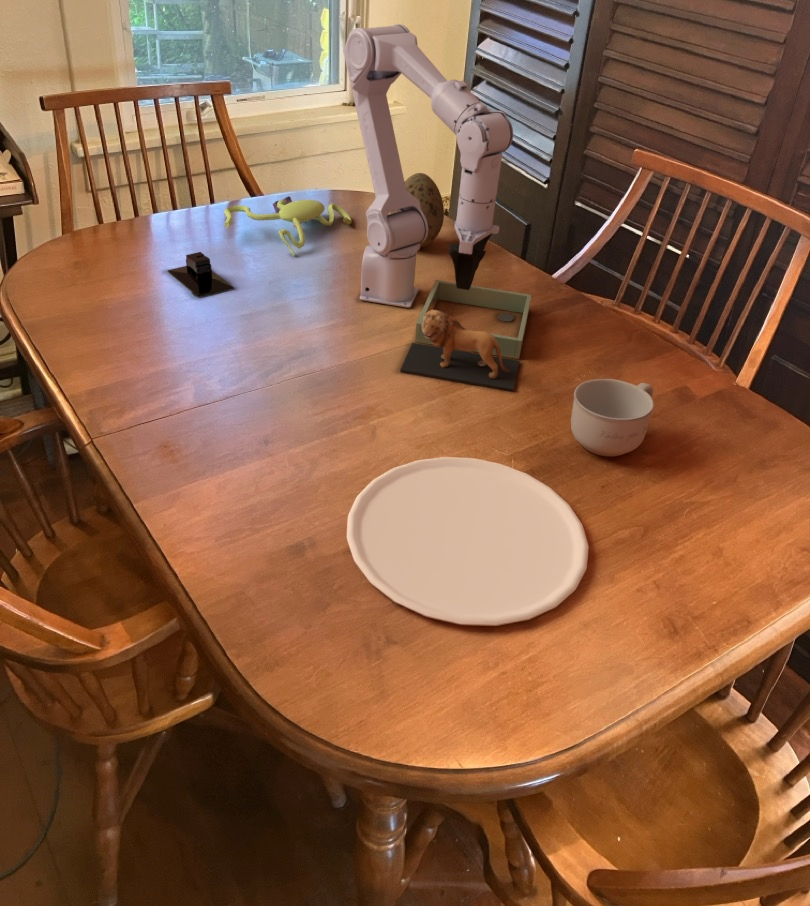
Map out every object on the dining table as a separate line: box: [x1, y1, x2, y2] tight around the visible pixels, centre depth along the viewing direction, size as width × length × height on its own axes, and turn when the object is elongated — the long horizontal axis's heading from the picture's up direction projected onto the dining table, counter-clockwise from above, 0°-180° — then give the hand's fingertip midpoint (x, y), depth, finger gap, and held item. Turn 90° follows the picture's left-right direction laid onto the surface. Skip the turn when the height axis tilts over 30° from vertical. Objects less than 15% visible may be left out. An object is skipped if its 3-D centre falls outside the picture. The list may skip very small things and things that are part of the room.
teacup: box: [570, 378, 655, 457], centre depth 113 cm, size 14×11×8 cm
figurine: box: [223, 196, 353, 257], centre depth 167 cm, size 18×27×6 cm
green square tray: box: [414, 279, 533, 360], centre depth 139 cm, size 18×18×4 cm
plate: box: [346, 456, 590, 627], centre depth 97 cm, size 29×29×1 cm
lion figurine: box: [421, 309, 510, 379], centre depth 125 cm, size 15×5×9 cm, turn 79°
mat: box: [399, 342, 521, 393], centre depth 129 cm, size 18×9×1 cm, turn 78°
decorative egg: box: [390, 172, 445, 248], centre depth 162 cm, size 11×11×15 cm
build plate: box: [167, 251, 234, 298], centre depth 146 cm, size 12×7×5 cm, turn 39°
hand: (467, 278), depth 131 cm, fingers open, 7 cm apart
